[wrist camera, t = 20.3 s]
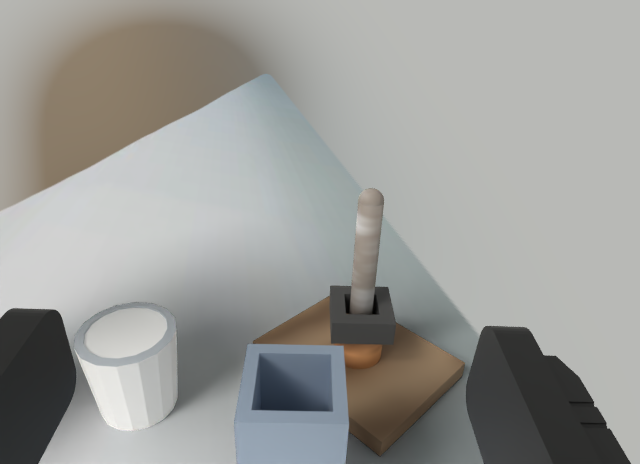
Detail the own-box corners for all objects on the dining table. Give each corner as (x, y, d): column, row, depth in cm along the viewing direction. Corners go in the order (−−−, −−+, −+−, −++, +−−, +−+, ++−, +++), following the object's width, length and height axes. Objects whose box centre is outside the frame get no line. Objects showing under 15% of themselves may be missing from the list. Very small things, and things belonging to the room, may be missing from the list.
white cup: (101, 453, 35) (81, 379, 31) (85, 387, 40) (66, 317, 36) (197, 415, 38) (189, 343, 34) (171, 358, 43) (161, 291, 39)
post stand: (253, 354, 44) (246, 179, 36) (339, 301, 51) (349, 145, 43) (380, 456, 35) (408, 257, 27) (461, 376, 42) (503, 199, 34)
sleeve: (244, 567, 29) (234, 422, 23) (254, 483, 33) (247, 343, 27) (335, 568, 29) (349, 424, 23) (333, 484, 33) (343, 345, 27)
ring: (330, 343, 38) (332, 323, 38) (329, 304, 43) (330, 285, 42) (393, 344, 39) (396, 324, 38) (385, 306, 43) (388, 287, 42)
